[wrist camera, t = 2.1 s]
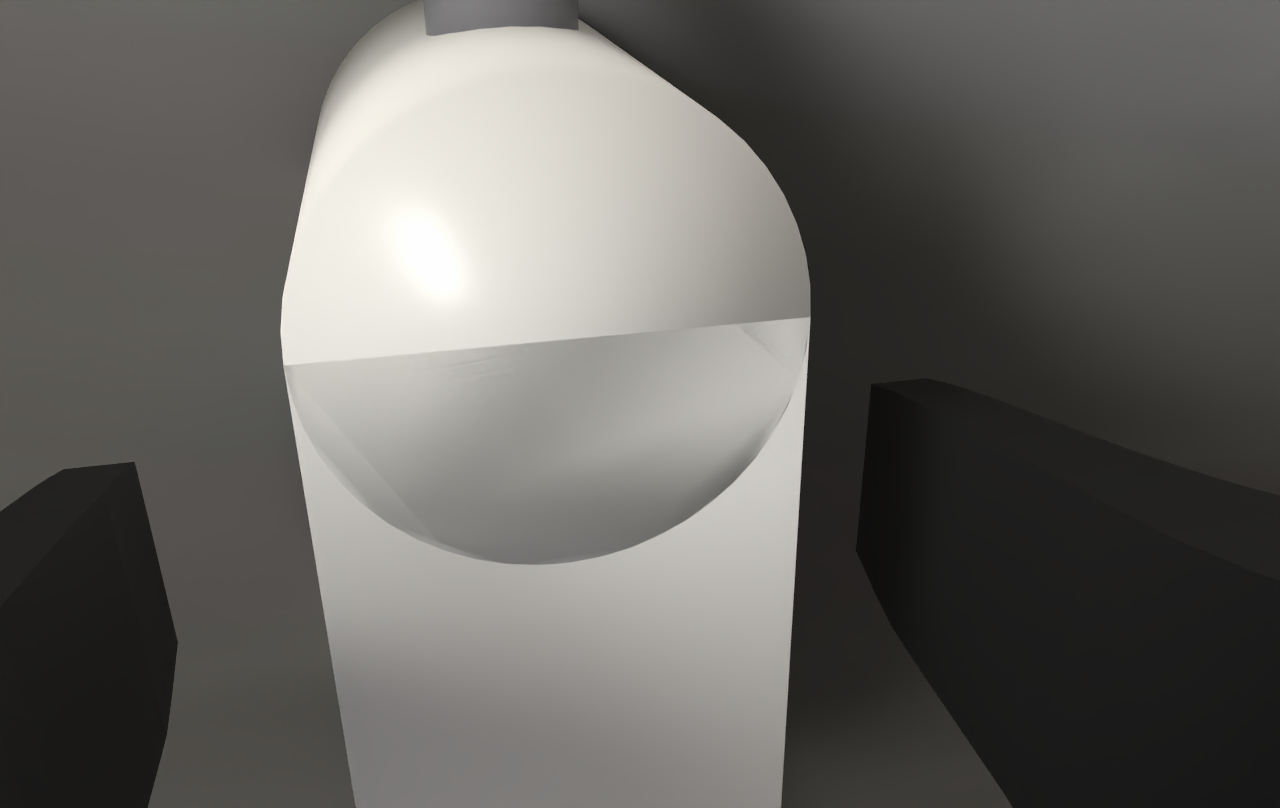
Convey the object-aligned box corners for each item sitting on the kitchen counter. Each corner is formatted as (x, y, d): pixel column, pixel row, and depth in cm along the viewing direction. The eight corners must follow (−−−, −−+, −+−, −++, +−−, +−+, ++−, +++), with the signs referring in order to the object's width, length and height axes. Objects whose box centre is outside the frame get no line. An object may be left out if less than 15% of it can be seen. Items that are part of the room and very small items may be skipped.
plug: (267, -179, 10) (188, -214, 6) (647, -179, 11) (841, -213, 6) (415, 885, 16) (432, 1275, 11) (654, 842, 17) (757, 1196, 12)
